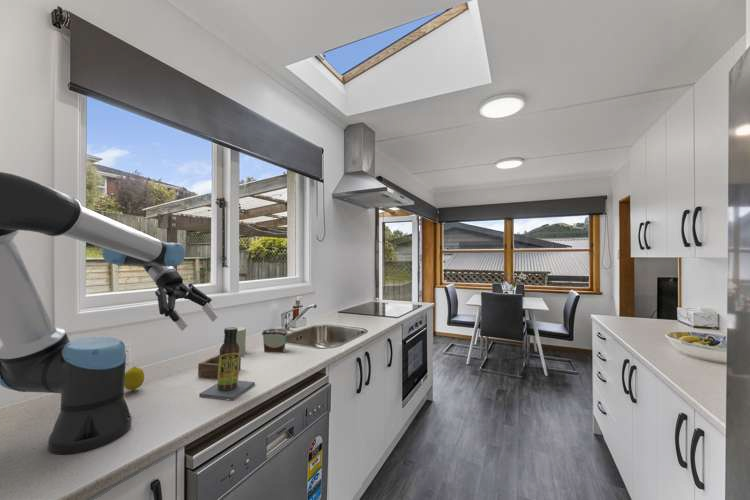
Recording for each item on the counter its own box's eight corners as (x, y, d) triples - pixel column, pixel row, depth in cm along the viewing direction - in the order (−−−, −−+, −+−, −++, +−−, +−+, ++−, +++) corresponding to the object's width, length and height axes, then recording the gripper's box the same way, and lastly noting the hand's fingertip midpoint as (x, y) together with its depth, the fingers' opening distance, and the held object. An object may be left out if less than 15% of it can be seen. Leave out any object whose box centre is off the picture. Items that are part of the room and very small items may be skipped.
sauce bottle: (217, 393, 98) (219, 331, 99) (216, 386, 104) (218, 327, 104) (239, 389, 102) (241, 328, 102) (237, 382, 107) (238, 325, 108)
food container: (291, 349, 150) (291, 328, 150) (286, 353, 144) (286, 331, 144) (267, 348, 151) (267, 327, 151) (261, 352, 145) (261, 330, 145)
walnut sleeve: (223, 379, 112) (223, 365, 112) (198, 377, 114) (198, 363, 114) (240, 369, 122) (240, 356, 122) (217, 367, 124) (217, 354, 124)
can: (223, 352, 143) (224, 326, 144) (245, 350, 147) (245, 325, 148) (223, 358, 135) (224, 331, 135) (246, 355, 139) (246, 329, 139)
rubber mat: (233, 400, 96) (233, 397, 96) (199, 396, 98) (199, 393, 98) (254, 384, 108) (254, 382, 108) (224, 381, 110) (224, 379, 110)
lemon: (147, 388, 103) (148, 364, 103) (130, 395, 98) (131, 370, 98) (135, 386, 105) (136, 363, 105) (118, 393, 99) (119, 368, 100)
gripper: (188, 281, 121) (219, 322, 118) (124, 288, 97) (162, 340, 93) (200, 268, 120) (232, 309, 117) (138, 272, 96) (177, 324, 92)
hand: (201, 323), depth 105 cm, fingers open, 13 cm apart
